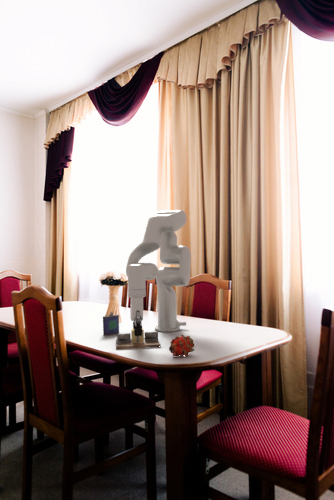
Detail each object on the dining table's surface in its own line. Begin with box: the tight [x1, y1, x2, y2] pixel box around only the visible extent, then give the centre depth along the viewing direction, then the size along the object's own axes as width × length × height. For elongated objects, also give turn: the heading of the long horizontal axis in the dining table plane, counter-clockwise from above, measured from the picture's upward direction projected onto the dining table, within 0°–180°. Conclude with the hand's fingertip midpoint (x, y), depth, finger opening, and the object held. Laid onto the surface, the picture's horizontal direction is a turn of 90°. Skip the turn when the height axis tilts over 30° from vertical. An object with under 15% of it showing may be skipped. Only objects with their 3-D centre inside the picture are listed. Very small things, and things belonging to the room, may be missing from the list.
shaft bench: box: [115, 331, 161, 350], centre depth 160 cm, size 18×14×5 cm
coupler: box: [130, 327, 145, 343], centre depth 160 cm, size 5×4×5 cm
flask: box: [102, 311, 120, 337], centre depth 181 cm, size 9×3×11 cm, turn 138°
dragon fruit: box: [168, 334, 195, 357], centre depth 141 cm, size 8×8×12 cm
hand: (137, 333), depth 160 cm, fingers open, 9 cm apart
